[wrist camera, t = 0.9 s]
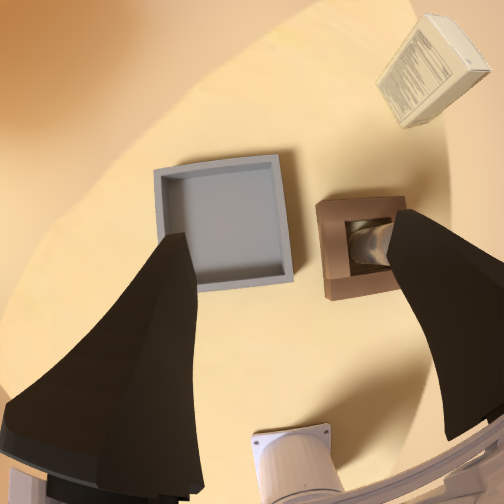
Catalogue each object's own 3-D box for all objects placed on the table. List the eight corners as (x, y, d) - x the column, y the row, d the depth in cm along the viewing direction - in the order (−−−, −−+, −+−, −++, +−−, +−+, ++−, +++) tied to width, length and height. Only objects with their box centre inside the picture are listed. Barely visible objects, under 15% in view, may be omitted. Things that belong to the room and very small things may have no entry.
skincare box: (427, 123, 24) (496, 75, 12) (401, 130, 24) (471, 74, 12) (400, 76, 24) (452, 15, 12) (372, 80, 24) (423, 10, 12)
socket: (402, 284, 24) (413, 286, 22) (325, 297, 24) (331, 301, 22) (394, 199, 24) (404, 196, 22) (315, 205, 24) (321, 201, 22)
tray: (289, 279, 24) (294, 281, 21) (172, 291, 24) (164, 295, 21) (275, 163, 24) (278, 154, 21) (162, 177, 24) (153, 169, 21)
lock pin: (378, 261, 24) (429, 263, 16) (349, 265, 24) (392, 270, 16) (375, 228, 24) (424, 218, 16) (345, 231, 24) (388, 221, 16)
